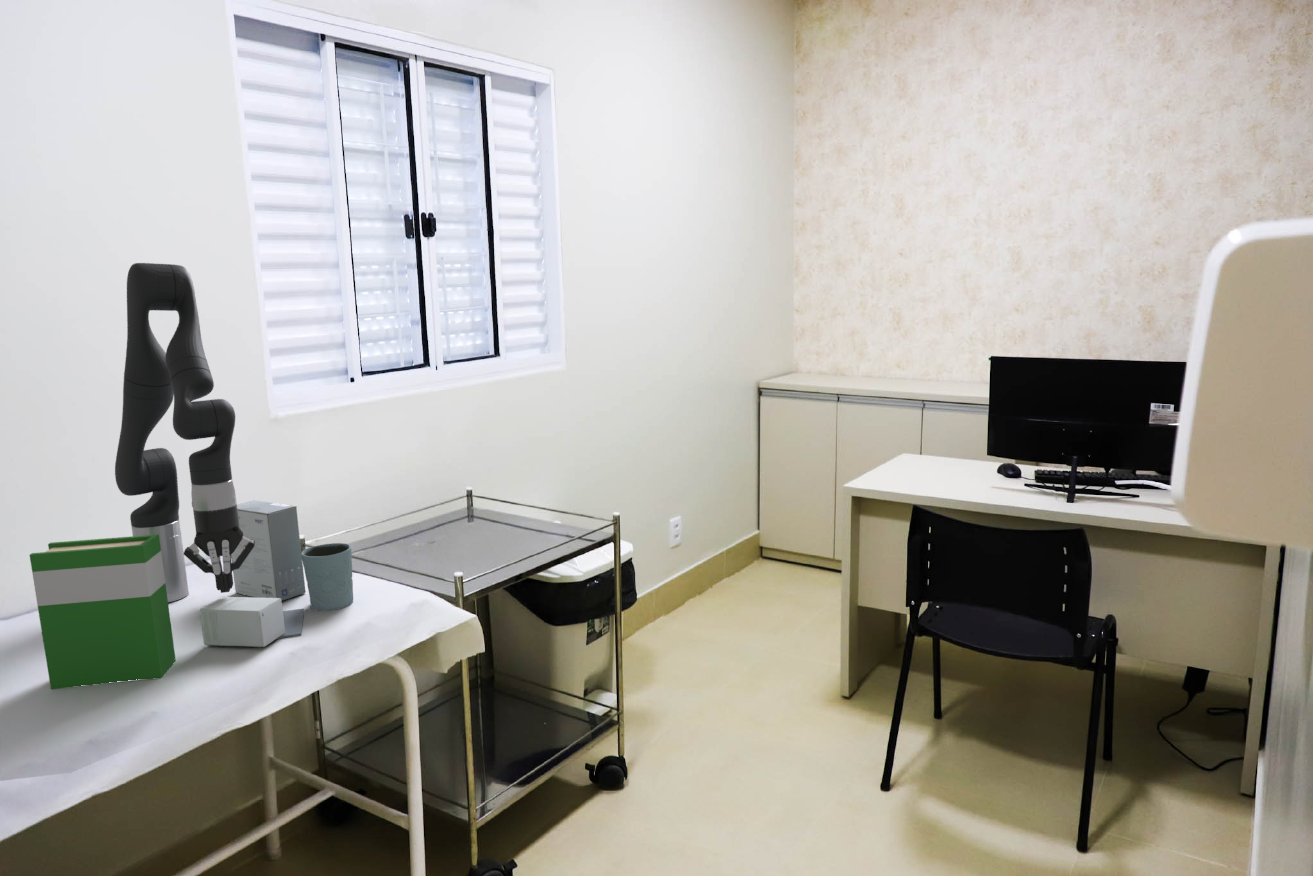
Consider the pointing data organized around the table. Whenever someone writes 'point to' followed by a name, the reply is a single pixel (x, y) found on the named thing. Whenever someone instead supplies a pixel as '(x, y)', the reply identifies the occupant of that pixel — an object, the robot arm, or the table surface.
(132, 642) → the hardback book
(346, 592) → the blue-grey plant pot
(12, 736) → the table surface
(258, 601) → the supplement box
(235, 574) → the hard drive box
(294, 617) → the mat
